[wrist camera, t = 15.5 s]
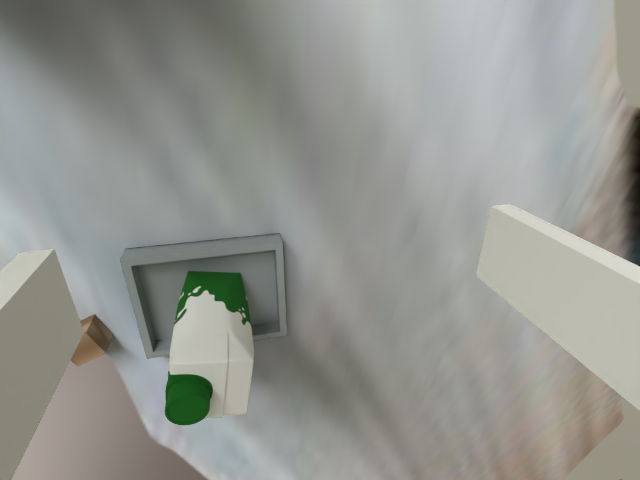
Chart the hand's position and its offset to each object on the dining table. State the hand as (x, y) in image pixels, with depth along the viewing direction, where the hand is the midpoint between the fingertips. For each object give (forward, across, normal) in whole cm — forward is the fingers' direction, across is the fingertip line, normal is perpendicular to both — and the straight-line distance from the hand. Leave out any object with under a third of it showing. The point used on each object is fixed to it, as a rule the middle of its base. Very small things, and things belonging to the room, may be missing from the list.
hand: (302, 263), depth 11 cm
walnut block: (+37, -23, -28) cm, 52 cm away
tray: (+37, -6, -24) cm, 44 cm away
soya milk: (+36, -6, -24) cm, 44 cm away
